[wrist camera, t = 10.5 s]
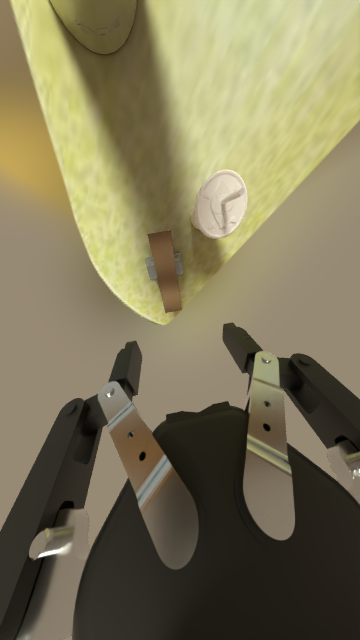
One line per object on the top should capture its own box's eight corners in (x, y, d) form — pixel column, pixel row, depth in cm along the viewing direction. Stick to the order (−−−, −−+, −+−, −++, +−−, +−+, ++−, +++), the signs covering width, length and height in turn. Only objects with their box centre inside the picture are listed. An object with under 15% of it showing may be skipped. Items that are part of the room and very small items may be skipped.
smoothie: (217, 188, 22) (284, 136, 10) (218, 233, 25) (268, 232, 14) (180, 197, 22) (204, 154, 10) (186, 241, 25) (209, 246, 14)
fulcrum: (145, 258, 26) (142, 262, 22) (180, 252, 26) (184, 256, 22) (150, 276, 28) (148, 283, 24) (182, 271, 28) (186, 277, 24)
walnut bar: (149, 234, 20) (147, 234, 17) (168, 231, 20) (170, 230, 17) (164, 304, 27) (165, 312, 24) (179, 301, 27) (181, 309, 24)
